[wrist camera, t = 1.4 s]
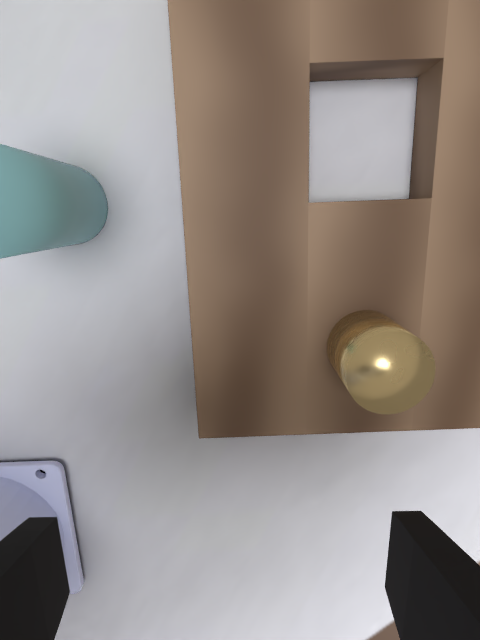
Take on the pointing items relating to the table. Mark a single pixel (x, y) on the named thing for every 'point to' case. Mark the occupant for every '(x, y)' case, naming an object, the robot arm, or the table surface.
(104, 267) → the table surface
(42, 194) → the teal pin
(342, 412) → the pin board
